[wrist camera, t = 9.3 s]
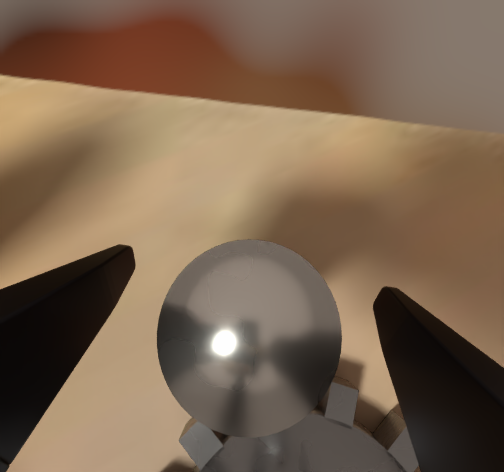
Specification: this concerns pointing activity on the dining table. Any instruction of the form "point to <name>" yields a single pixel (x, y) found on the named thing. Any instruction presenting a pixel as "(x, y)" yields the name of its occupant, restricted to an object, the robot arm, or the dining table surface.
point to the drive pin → (249, 338)
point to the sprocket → (308, 442)
